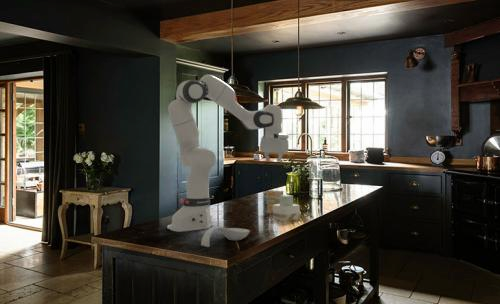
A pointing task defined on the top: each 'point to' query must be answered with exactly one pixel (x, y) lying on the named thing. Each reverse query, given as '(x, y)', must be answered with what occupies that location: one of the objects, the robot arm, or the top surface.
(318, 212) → the top surface
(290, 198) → the sage cube
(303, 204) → the top surface
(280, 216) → the block
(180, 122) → the robot arm
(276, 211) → the tower top
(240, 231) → the white curved spoon
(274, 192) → the supplement box
